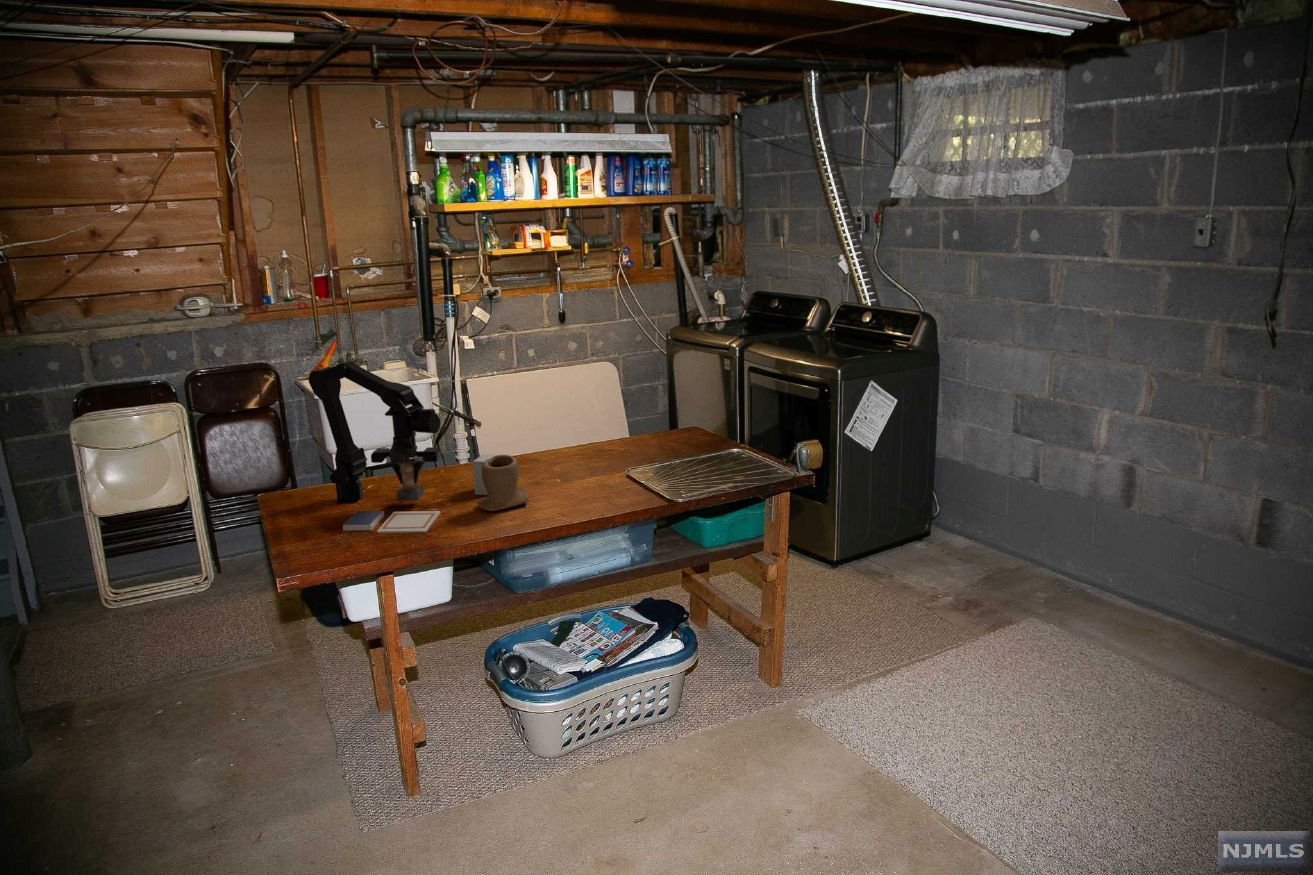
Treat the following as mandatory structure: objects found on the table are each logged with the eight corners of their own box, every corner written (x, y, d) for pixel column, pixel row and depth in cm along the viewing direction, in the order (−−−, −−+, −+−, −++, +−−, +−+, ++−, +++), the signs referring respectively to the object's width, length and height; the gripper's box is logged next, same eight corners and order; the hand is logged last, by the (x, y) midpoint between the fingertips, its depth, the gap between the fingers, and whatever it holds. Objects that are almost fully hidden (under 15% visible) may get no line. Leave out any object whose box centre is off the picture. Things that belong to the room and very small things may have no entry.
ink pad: (343, 530, 243) (342, 524, 243) (357, 516, 254) (356, 510, 253) (371, 530, 243) (370, 524, 242) (384, 515, 253) (383, 510, 253)
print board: (377, 532, 241) (376, 530, 241) (394, 513, 255) (393, 511, 255) (425, 532, 241) (425, 530, 240) (440, 512, 255) (439, 510, 255)
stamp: (397, 500, 258) (393, 462, 255) (403, 493, 264) (399, 455, 261) (418, 500, 258) (414, 461, 255) (423, 493, 264) (420, 455, 261)
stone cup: (490, 518, 250) (486, 466, 246) (473, 506, 260) (469, 456, 256) (539, 506, 258) (536, 456, 254) (522, 495, 268) (518, 447, 264)
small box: (492, 495, 268) (489, 461, 265) (474, 495, 269) (471, 461, 267) (502, 487, 276) (499, 454, 273) (484, 486, 277) (482, 453, 274)
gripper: (361, 439, 248) (367, 493, 252) (429, 438, 248) (434, 492, 252) (374, 428, 259) (380, 480, 263) (439, 427, 258) (444, 479, 262)
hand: (409, 483), depth 260 cm, fingers closed on stamp, 4 cm apart
